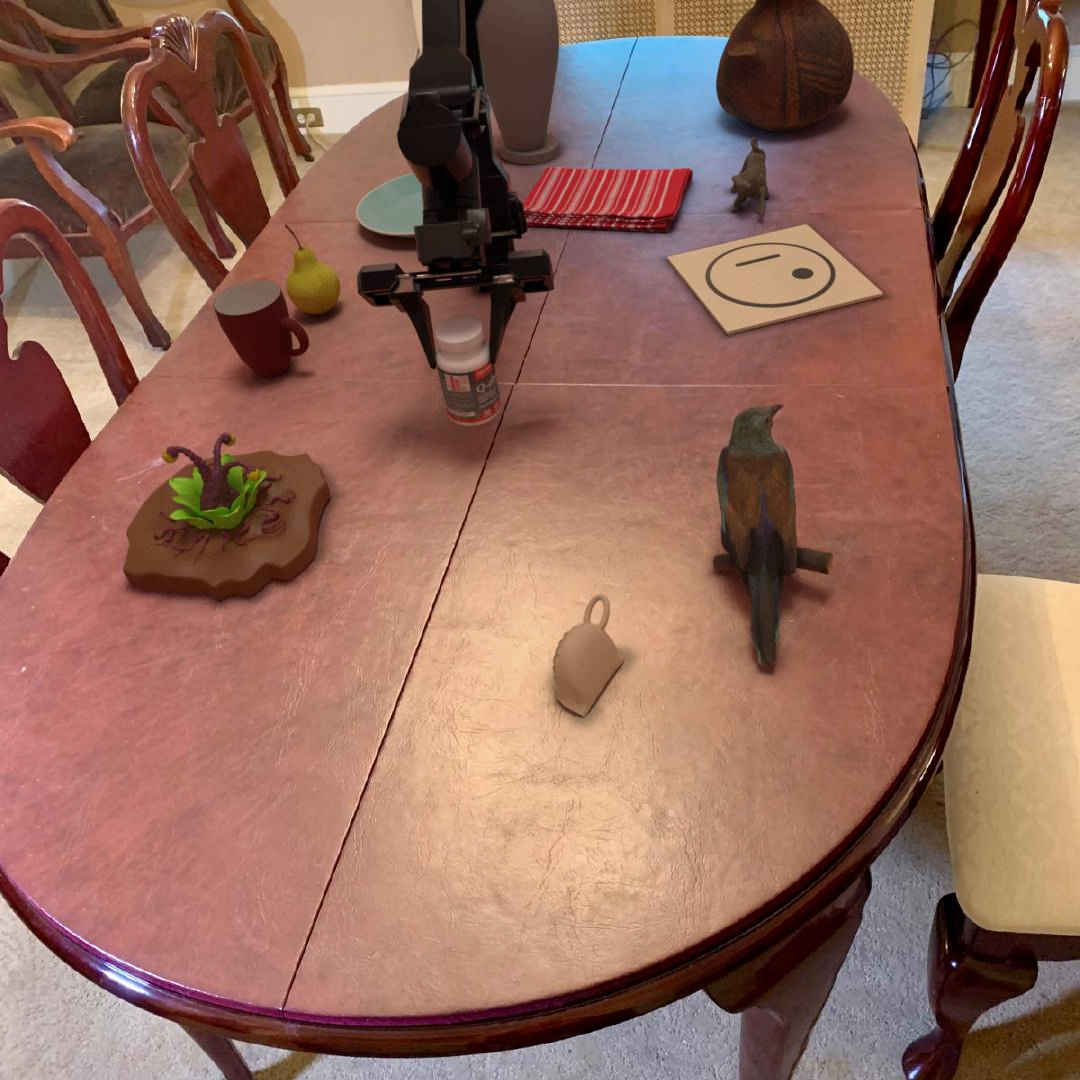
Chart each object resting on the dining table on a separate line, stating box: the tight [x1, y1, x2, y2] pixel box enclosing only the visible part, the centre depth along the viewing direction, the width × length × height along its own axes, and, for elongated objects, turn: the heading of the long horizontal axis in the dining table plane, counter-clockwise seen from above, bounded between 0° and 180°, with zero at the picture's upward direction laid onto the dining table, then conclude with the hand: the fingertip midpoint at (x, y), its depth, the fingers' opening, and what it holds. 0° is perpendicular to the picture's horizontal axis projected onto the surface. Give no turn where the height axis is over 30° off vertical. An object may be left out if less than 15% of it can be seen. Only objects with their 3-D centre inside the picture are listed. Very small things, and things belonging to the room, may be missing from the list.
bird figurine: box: [712, 403, 834, 666], centre depth 79 cm, size 13×10×20 cm
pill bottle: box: [434, 315, 502, 427], centre depth 94 cm, size 6×6×10 cm
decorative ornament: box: [552, 593, 625, 718], centre depth 76 cm, size 4×8×5 cm, turn 146°
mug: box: [212, 279, 310, 378], centre depth 113 cm, size 10×8×10 cm
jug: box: [715, 0, 855, 132], centre depth 144 cm, size 22×22×30 cm
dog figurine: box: [730, 136, 771, 216], centre depth 131 cm, size 12×6×7 cm, turn 165°
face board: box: [666, 223, 884, 336], centre depth 119 cm, size 20×20×1 cm
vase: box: [479, 0, 560, 165], centre depth 143 cm, size 13×13×35 cm
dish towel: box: [522, 166, 694, 233], centre depth 138 cm, size 17×24×3 cm
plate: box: [355, 172, 423, 239], centre depth 142 cm, size 22×22×3 cm
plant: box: [122, 432, 332, 601], centre depth 92 cm, size 20×20×11 cm
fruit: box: [284, 223, 342, 316], centre depth 121 cm, size 7×7×12 cm
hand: (462, 366), depth 92 cm, fingers closed on pill bottle, 6 cm apart
